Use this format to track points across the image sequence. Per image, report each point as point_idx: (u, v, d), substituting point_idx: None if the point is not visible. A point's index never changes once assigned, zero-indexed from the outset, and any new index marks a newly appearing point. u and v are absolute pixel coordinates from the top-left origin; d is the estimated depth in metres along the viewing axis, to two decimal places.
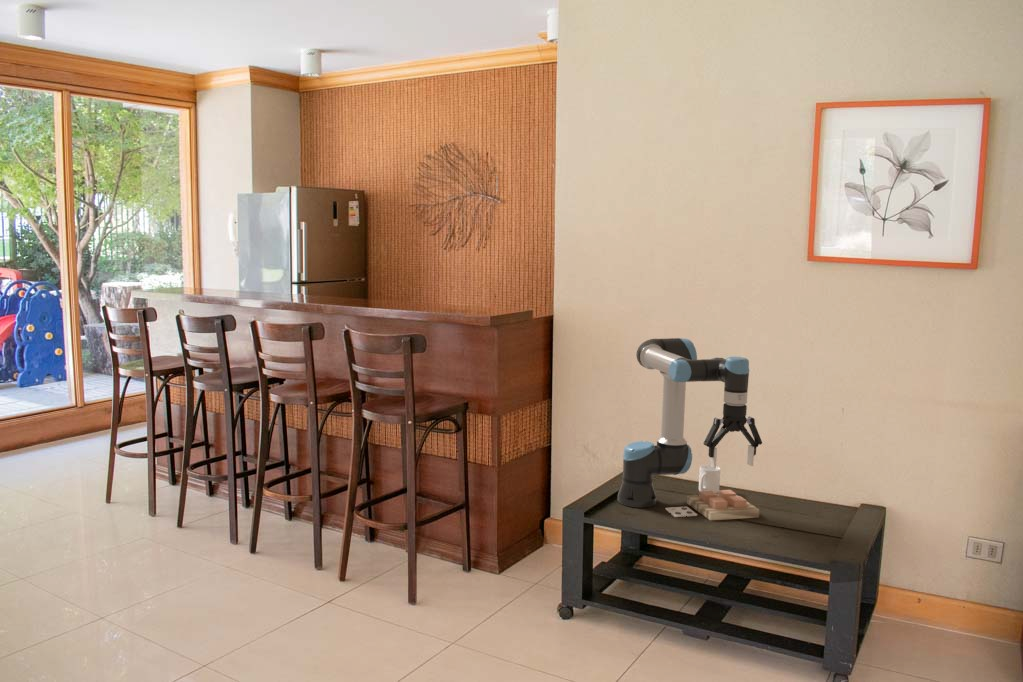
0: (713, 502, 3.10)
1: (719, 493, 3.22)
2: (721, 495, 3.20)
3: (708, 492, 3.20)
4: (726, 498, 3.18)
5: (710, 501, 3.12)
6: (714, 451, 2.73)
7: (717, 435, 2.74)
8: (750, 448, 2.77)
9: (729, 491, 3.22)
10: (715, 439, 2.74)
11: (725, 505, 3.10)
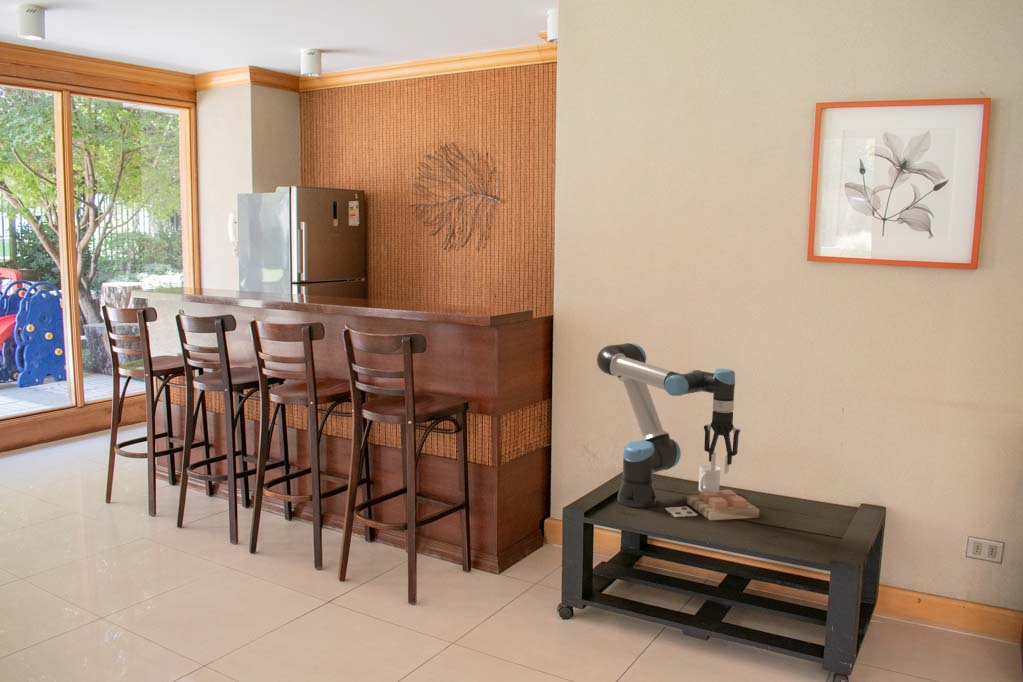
0: (713, 502, 3.10)
1: (719, 493, 3.22)
2: (721, 495, 3.20)
3: (708, 492, 3.20)
4: (726, 498, 3.18)
5: (710, 501, 3.12)
6: (711, 456, 3.10)
7: None
8: None
9: (729, 491, 3.22)
10: None
11: (725, 505, 3.10)
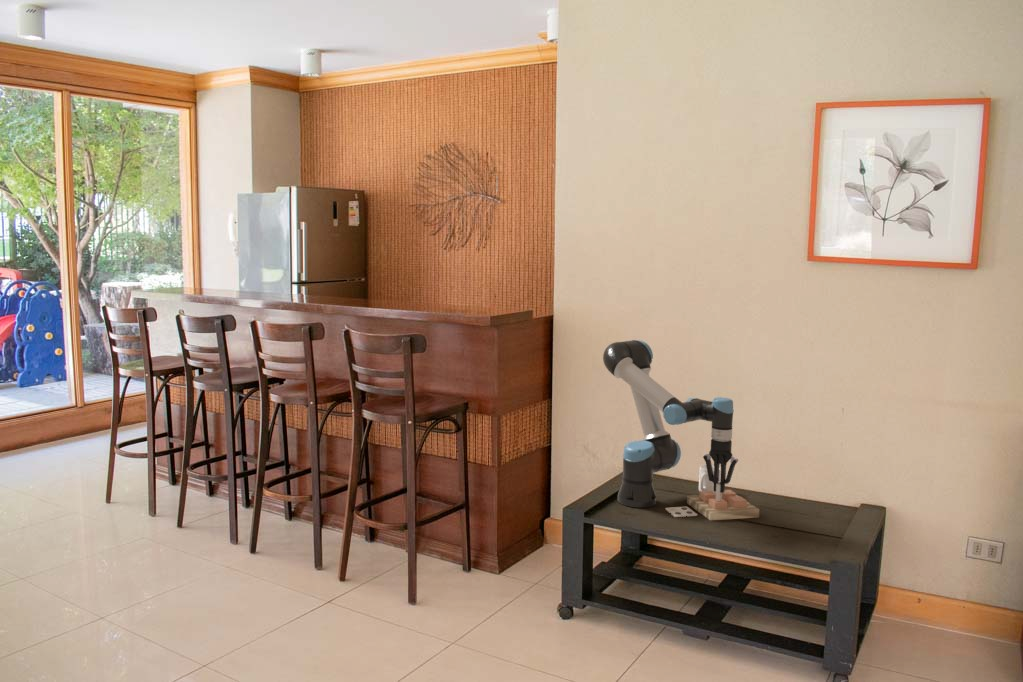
0: (713, 503, 3.10)
1: None
2: None
3: (708, 492, 3.20)
4: (726, 498, 3.18)
5: (710, 502, 3.12)
6: (716, 486, 3.10)
7: None
8: None
9: (729, 491, 3.22)
10: None
11: (725, 506, 3.10)
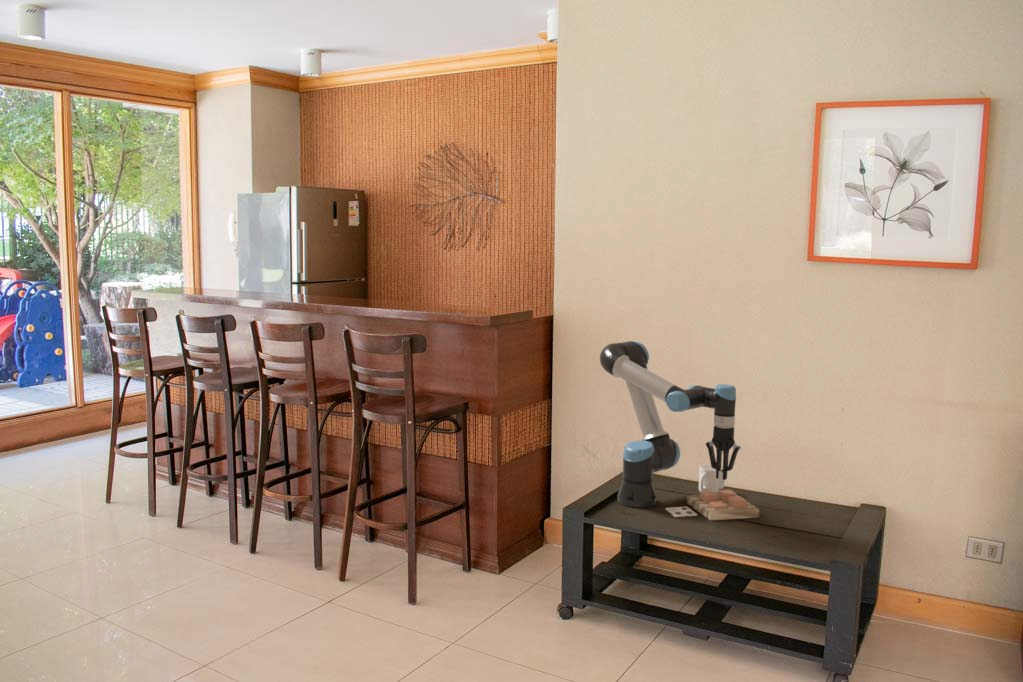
0: (713, 506, 3.10)
1: (719, 493, 3.22)
2: (721, 495, 3.20)
3: (708, 492, 3.20)
4: (726, 498, 3.18)
5: (710, 505, 3.12)
6: (718, 473, 3.10)
7: None
8: None
9: (729, 491, 3.22)
10: None
11: None
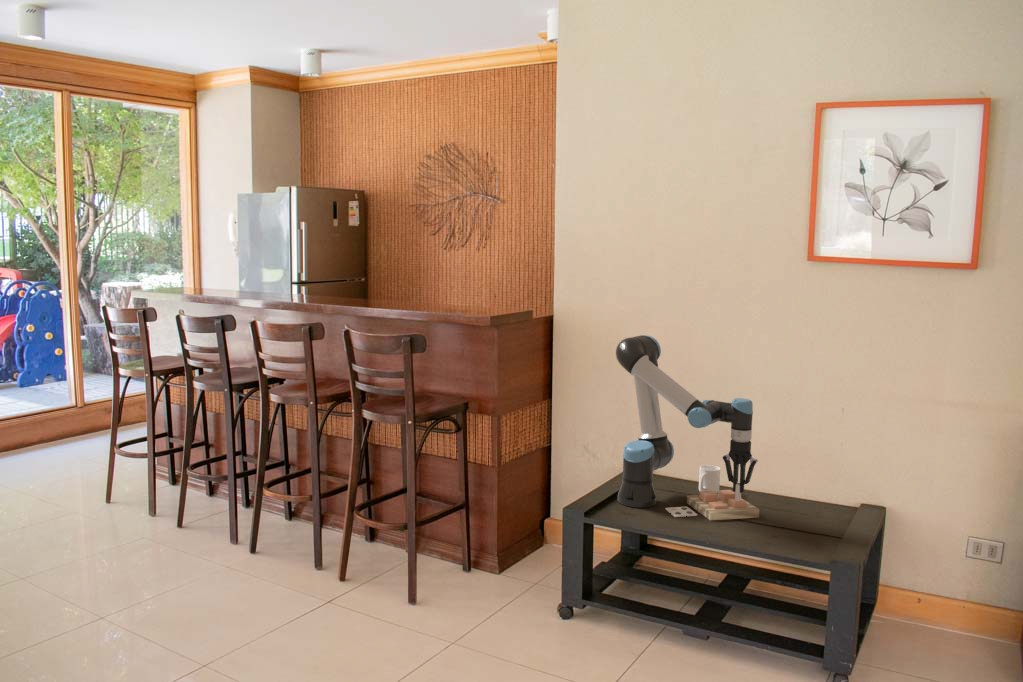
0: (713, 506, 3.10)
1: (719, 493, 3.22)
2: (721, 495, 3.20)
3: (708, 492, 3.20)
4: (726, 498, 3.18)
5: (710, 505, 3.12)
6: (735, 486, 3.12)
7: None
8: None
9: (729, 491, 3.22)
10: None
11: None
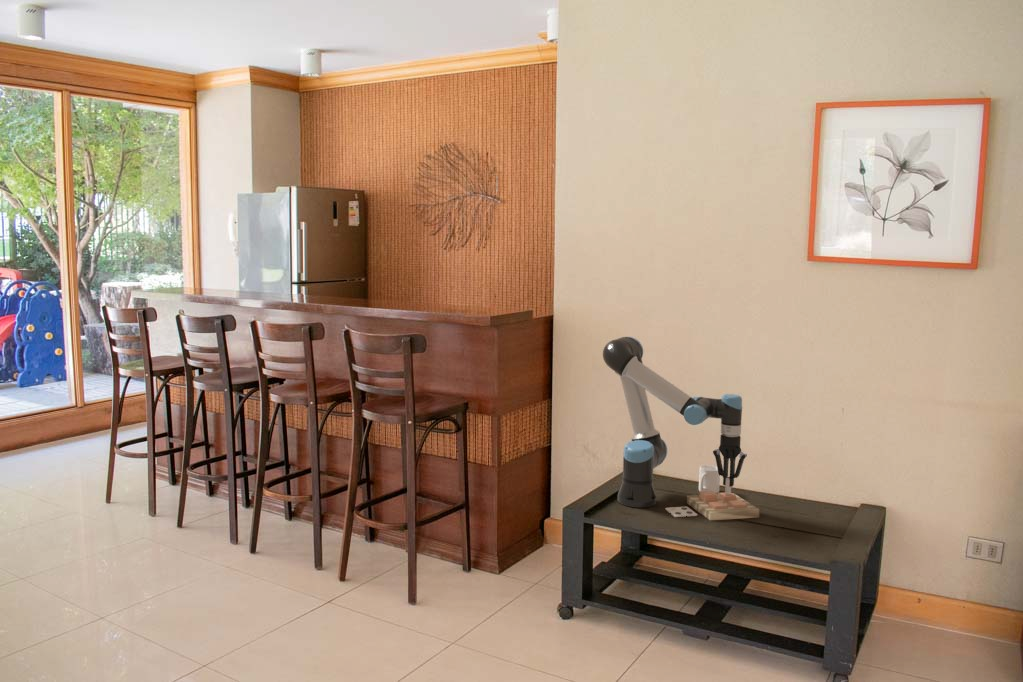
0: (713, 506, 3.10)
1: (719, 496, 3.22)
2: (721, 498, 3.20)
3: (708, 492, 3.20)
4: (726, 500, 3.19)
5: (710, 505, 3.12)
6: (725, 480, 3.20)
7: None
8: None
9: None
10: None
11: None
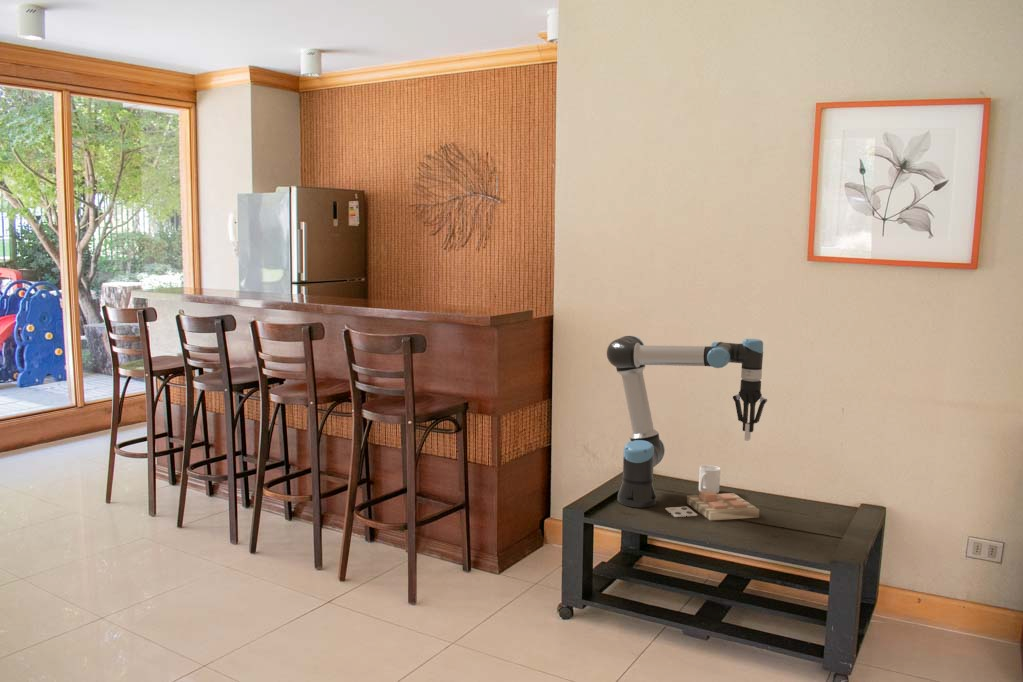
0: (713, 506, 3.10)
1: (719, 497, 3.22)
2: (721, 499, 3.20)
3: (708, 492, 3.20)
4: None
5: (710, 505, 3.12)
6: (745, 426, 3.16)
7: None
8: None
9: (729, 495, 3.22)
10: None
11: None
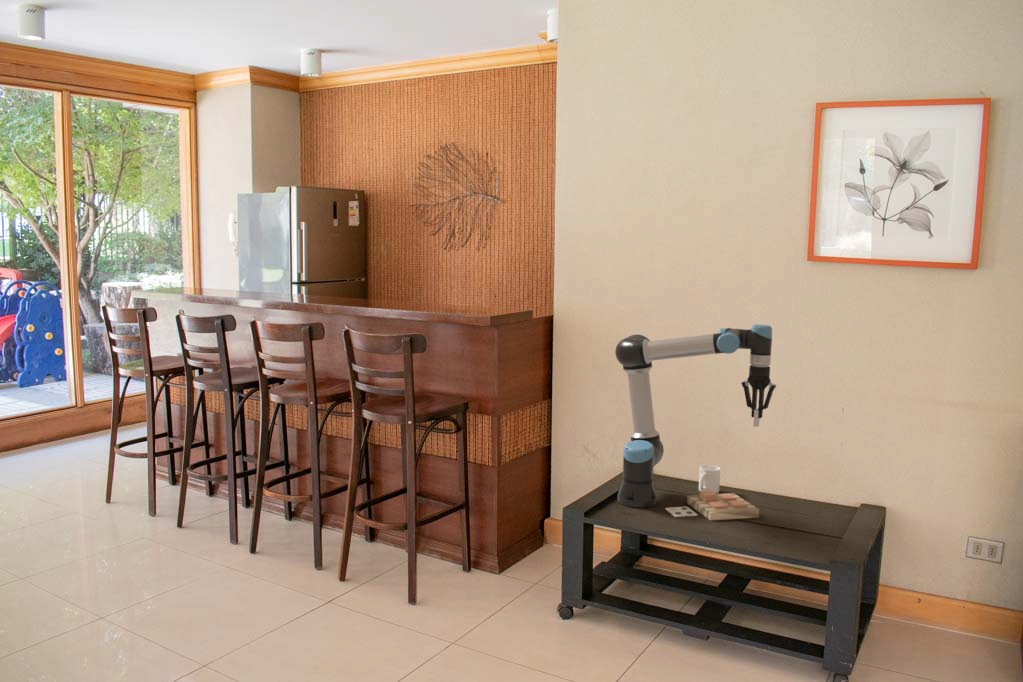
0: (713, 506, 3.10)
1: (719, 497, 3.22)
2: (721, 499, 3.20)
3: (708, 492, 3.20)
4: None
5: (710, 505, 3.12)
6: (754, 412, 3.15)
7: None
8: None
9: (729, 495, 3.22)
10: None
11: None
